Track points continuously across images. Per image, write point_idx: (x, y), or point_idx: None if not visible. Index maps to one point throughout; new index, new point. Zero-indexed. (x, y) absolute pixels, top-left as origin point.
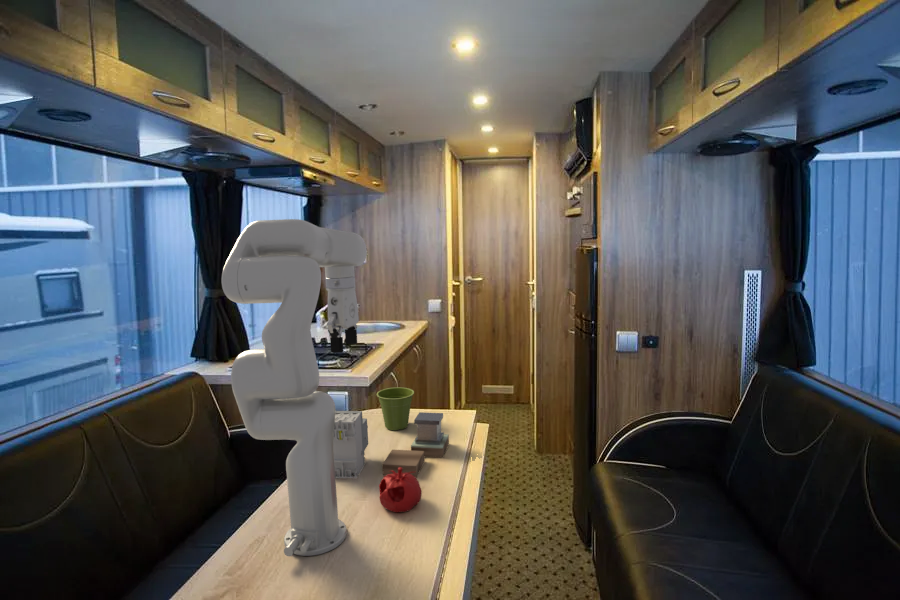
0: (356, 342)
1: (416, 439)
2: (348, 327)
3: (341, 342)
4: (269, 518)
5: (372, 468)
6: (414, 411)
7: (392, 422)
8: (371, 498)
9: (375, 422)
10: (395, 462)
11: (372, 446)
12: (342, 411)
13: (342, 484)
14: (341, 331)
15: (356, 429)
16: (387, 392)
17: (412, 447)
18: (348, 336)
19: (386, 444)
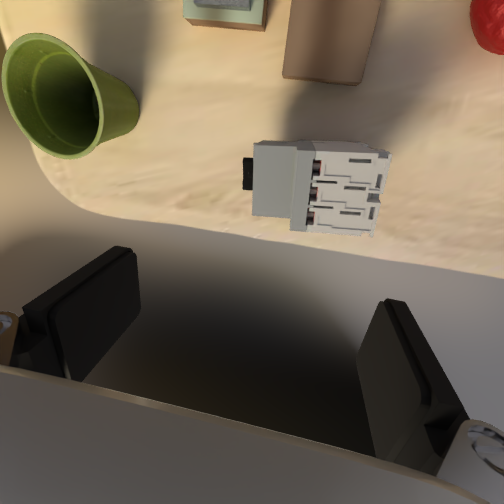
0: (125, 250)
1: (246, 3)
2: (410, 473)
3: (433, 363)
4: (477, 255)
5: (320, 118)
6: None
7: (131, 110)
8: (458, 88)
9: (106, 162)
10: (356, 47)
11: (219, 142)
12: (296, 208)
13: None
14: (465, 488)
15: (363, 150)
16: (40, 134)
17: (262, 20)
18: (107, 328)
19: (207, 112)
